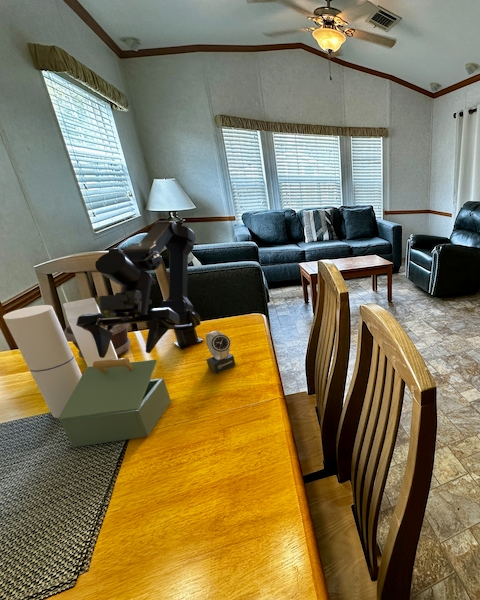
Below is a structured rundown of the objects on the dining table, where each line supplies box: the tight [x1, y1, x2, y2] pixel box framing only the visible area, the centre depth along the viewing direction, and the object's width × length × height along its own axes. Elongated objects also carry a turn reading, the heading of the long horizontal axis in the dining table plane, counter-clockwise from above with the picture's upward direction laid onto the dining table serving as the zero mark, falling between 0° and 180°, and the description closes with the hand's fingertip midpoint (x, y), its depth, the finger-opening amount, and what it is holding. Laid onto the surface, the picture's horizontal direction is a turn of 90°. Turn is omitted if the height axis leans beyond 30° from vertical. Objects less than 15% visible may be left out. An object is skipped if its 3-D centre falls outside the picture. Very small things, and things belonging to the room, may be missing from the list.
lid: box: [57, 357, 158, 421], centre depth 68 cm, size 12×14×4 cm
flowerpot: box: [63, 292, 132, 360], centre depth 97 cm, size 14×15×20 cm
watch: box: [205, 330, 236, 375], centre depth 91 cm, size 6×8×11 cm
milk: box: [62, 297, 119, 368], centre depth 87 cm, size 6×6×22 cm
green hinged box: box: [59, 377, 172, 448], centre depth 72 cm, size 12×14×7 cm
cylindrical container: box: [2, 304, 83, 419], centre depth 73 cm, size 7×7×25 cm
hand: (125, 355), depth 74 cm, fingers open, 9 cm apart
